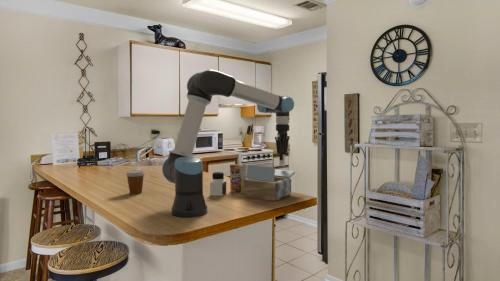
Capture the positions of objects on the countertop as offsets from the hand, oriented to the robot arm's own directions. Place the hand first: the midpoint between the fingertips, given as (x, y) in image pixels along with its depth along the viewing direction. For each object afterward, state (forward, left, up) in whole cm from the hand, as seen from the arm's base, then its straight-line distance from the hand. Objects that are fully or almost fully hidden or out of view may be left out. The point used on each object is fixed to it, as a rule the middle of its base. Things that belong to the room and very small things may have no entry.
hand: (282, 165), depth 185 cm
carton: (-15, 0, -14) cm, 21 cm away
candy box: (-16, +19, -14) cm, 29 cm away
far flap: (-7, 0, -5) cm, 9 cm away
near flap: (-23, 0, -5) cm, 24 cm away
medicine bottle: (-27, +24, -14) cm, 39 cm away
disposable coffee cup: (-50, +64, -14) cm, 83 cm away
